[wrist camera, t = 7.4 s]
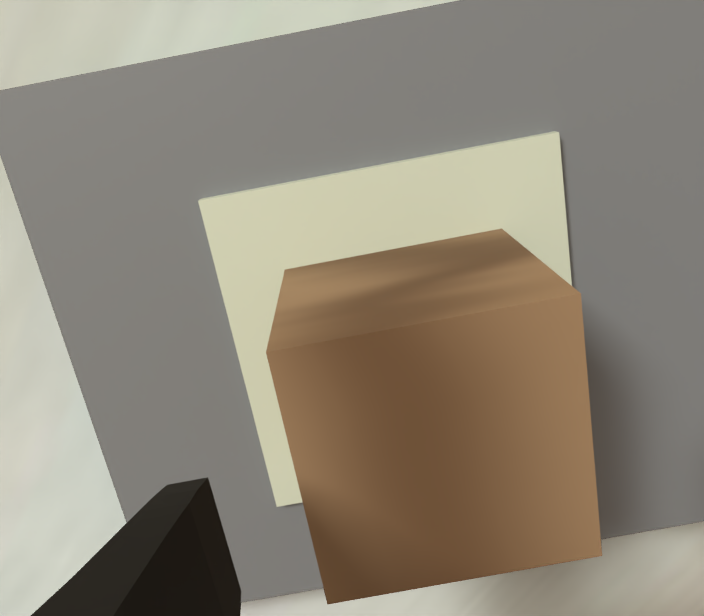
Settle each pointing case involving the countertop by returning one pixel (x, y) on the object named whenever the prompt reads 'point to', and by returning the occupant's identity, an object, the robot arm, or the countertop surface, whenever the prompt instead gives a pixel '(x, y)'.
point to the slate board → (370, 231)
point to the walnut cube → (436, 414)
